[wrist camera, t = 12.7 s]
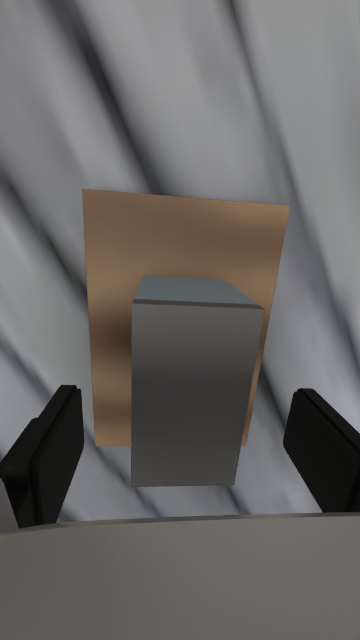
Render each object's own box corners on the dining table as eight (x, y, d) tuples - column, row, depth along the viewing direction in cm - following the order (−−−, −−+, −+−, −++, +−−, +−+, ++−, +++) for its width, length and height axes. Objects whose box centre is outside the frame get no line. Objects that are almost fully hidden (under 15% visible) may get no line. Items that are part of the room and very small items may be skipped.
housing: (222, 279, 16) (264, 309, 10) (208, 398, 19) (234, 485, 12) (143, 275, 16) (131, 303, 9) (141, 398, 19) (131, 486, 12)
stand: (235, 420, 23) (245, 445, 21) (103, 419, 22) (95, 446, 20) (269, 210, 18) (289, 205, 15) (95, 196, 17) (82, 188, 14)
